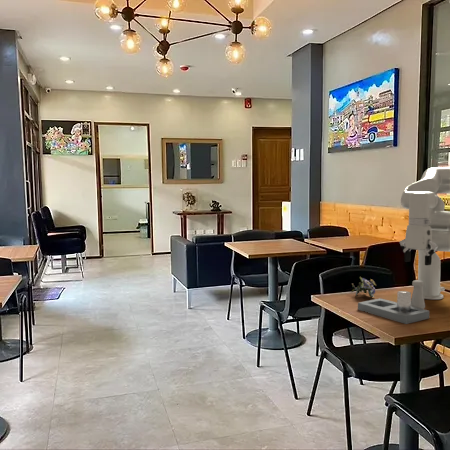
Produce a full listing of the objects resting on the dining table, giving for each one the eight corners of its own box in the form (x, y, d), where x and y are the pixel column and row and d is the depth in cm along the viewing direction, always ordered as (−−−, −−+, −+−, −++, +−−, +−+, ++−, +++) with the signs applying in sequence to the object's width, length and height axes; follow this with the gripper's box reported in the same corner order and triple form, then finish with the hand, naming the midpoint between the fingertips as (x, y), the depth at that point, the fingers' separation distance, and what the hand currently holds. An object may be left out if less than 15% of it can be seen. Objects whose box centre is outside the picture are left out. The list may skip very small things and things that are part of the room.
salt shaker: (426, 311, 185) (427, 280, 184) (422, 313, 181) (423, 282, 180) (412, 308, 189) (413, 278, 188) (407, 311, 185) (408, 280, 184)
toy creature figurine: (371, 309, 209) (378, 292, 201) (348, 303, 211) (353, 287, 203) (372, 291, 217) (378, 275, 209) (350, 286, 219) (355, 270, 211)
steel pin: (402, 314, 181) (402, 290, 180) (413, 317, 176) (413, 292, 175) (394, 316, 178) (394, 292, 177) (404, 319, 174) (405, 294, 173)
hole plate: (380, 305, 196) (380, 298, 195) (429, 318, 175) (429, 310, 175) (357, 309, 189) (357, 302, 188) (406, 324, 168) (406, 316, 168)
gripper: (443, 223, 177) (442, 265, 178) (406, 220, 192) (405, 259, 193) (431, 224, 173) (430, 267, 174) (394, 221, 188) (394, 261, 189)
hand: (417, 263), depth 184 cm, fingers open, 9 cm apart
